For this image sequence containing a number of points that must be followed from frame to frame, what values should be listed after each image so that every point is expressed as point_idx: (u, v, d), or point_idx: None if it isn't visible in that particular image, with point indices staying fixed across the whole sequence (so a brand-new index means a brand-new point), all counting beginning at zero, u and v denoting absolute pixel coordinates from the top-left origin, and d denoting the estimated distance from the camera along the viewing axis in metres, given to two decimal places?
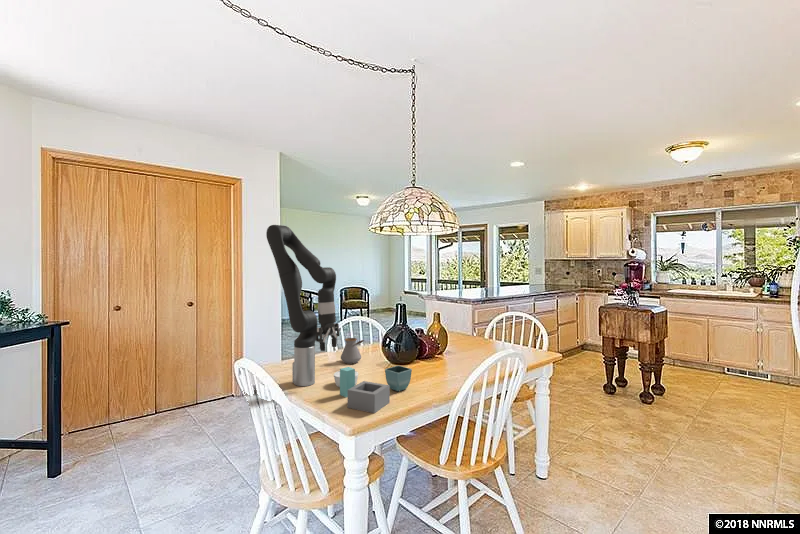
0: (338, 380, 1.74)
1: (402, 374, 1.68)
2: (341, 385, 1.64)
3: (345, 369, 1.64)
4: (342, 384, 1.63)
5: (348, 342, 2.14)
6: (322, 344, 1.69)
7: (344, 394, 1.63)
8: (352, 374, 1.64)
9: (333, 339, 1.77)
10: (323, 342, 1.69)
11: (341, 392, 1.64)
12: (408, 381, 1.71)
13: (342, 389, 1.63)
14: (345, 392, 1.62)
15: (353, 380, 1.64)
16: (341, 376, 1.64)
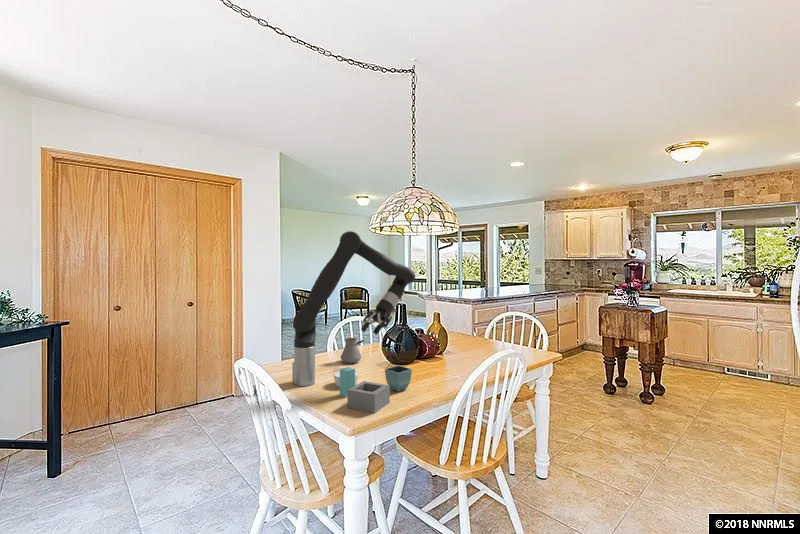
0: (338, 380, 1.74)
1: (402, 374, 1.68)
2: (341, 385, 1.64)
3: (345, 369, 1.64)
4: (342, 384, 1.63)
5: (348, 342, 2.14)
6: (380, 329, 1.70)
7: (344, 394, 1.63)
8: (352, 374, 1.64)
9: (367, 324, 1.77)
10: None
11: (341, 392, 1.64)
12: (408, 381, 1.71)
13: (342, 389, 1.63)
14: (345, 392, 1.62)
15: (353, 380, 1.64)
16: (341, 376, 1.64)
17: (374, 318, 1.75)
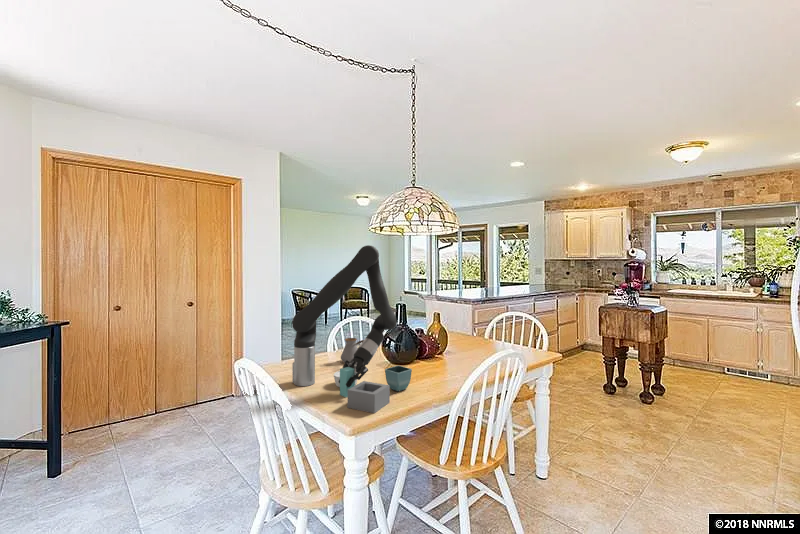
0: (338, 380, 1.74)
1: (402, 374, 1.68)
2: (341, 385, 1.64)
3: (345, 369, 1.64)
4: (342, 384, 1.63)
5: (348, 342, 2.14)
6: (353, 381, 1.63)
7: (344, 393, 1.63)
8: None
9: None
10: None
11: (341, 392, 1.64)
12: (408, 381, 1.71)
13: (342, 389, 1.63)
14: (345, 392, 1.62)
15: None
16: (341, 376, 1.64)
17: (353, 367, 1.66)
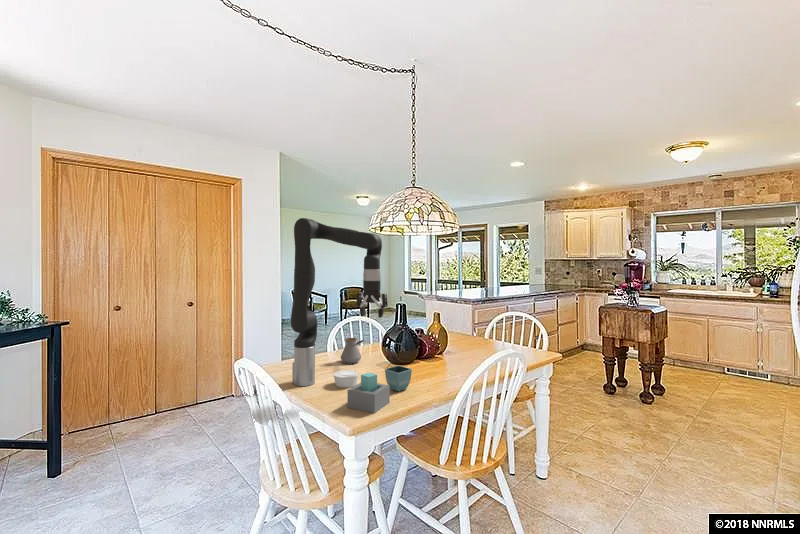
0: (338, 380, 1.74)
1: (402, 374, 1.68)
2: None
3: (367, 375, 1.52)
4: None
5: (348, 342, 2.14)
6: None
7: None
8: (374, 380, 1.52)
9: (363, 308, 1.72)
10: None
11: None
12: (408, 381, 1.71)
13: None
14: None
15: (375, 387, 1.53)
16: (362, 382, 1.52)
17: (369, 301, 1.70)
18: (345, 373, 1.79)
